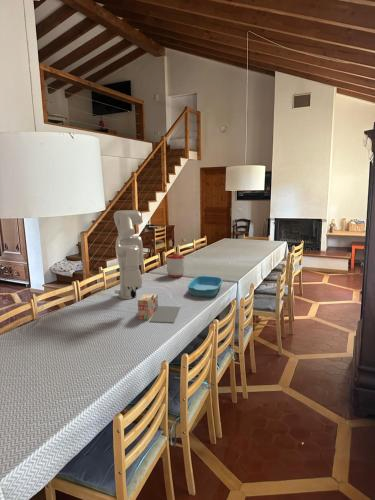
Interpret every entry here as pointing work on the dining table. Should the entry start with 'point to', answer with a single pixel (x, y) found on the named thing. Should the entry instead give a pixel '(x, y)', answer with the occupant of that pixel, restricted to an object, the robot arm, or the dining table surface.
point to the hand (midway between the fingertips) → (133, 297)
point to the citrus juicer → (175, 265)
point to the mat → (165, 314)
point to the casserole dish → (205, 286)
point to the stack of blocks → (147, 306)
